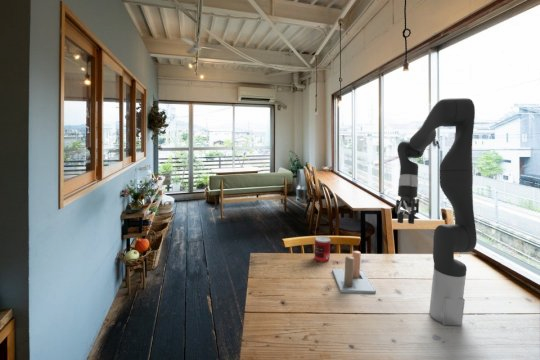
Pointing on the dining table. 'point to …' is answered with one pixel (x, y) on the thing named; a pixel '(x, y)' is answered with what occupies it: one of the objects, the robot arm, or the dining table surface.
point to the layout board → (358, 282)
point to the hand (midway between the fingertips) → (405, 223)
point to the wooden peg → (356, 264)
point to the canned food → (322, 249)
